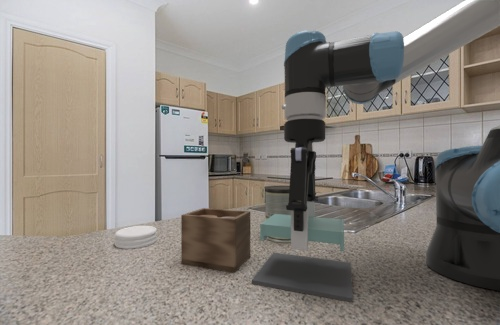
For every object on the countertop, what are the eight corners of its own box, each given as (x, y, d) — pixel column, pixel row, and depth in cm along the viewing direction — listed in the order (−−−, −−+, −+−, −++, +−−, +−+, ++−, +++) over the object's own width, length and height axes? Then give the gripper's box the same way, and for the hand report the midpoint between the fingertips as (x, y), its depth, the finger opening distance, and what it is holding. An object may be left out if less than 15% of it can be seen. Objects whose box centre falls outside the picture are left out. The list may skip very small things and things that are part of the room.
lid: (343, 235, 48) (343, 219, 48) (344, 251, 39) (344, 232, 39) (274, 227, 52) (274, 213, 52) (260, 240, 44) (260, 224, 44)
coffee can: (265, 231, 74) (265, 185, 74) (300, 232, 73) (299, 185, 73) (264, 242, 64) (264, 188, 64) (304, 243, 63) (304, 189, 63)
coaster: (137, 235, 70) (137, 223, 70) (165, 239, 67) (164, 226, 67) (105, 247, 61) (105, 233, 61) (135, 252, 57) (135, 237, 57)
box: (250, 256, 54) (250, 211, 54) (234, 272, 46) (234, 219, 46) (203, 249, 58) (203, 208, 58) (181, 263, 50) (181, 215, 50)
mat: (350, 265, 49) (350, 262, 49) (352, 302, 36) (352, 298, 36) (273, 255, 55) (273, 252, 55) (251, 283, 42) (251, 280, 42)
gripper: (295, 129, 57) (294, 224, 57) (268, 109, 37) (267, 258, 37) (328, 127, 55) (328, 227, 55) (320, 105, 34) (319, 266, 34)
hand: (303, 240), depth 46 cm, fingers closed on lid, 9 cm apart
